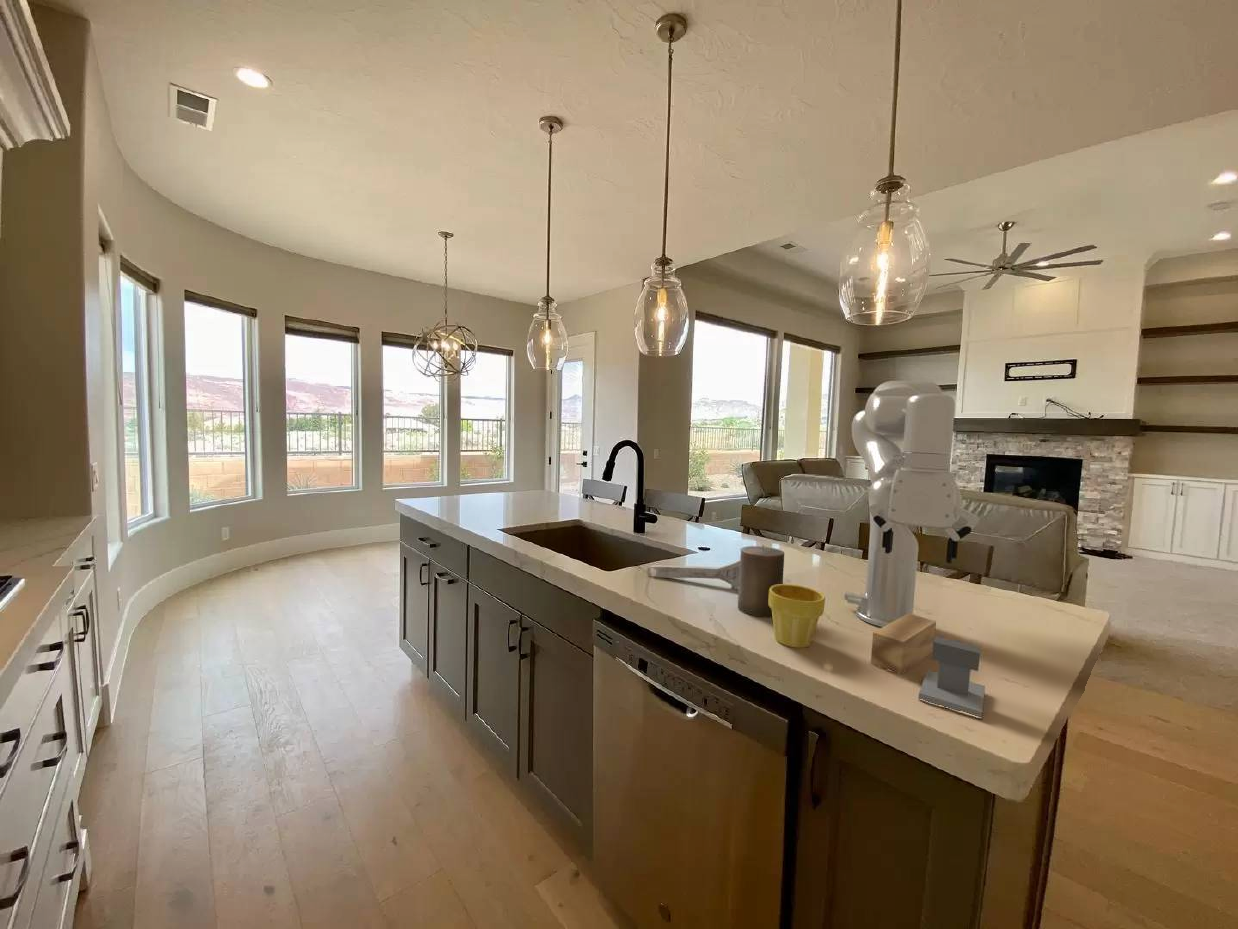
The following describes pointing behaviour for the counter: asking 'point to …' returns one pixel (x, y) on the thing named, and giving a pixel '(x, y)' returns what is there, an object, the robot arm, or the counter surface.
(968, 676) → the stand
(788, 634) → the plant pot
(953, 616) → the counter surface
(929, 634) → the oak block
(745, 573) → the pillar candle
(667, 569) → the wrench
